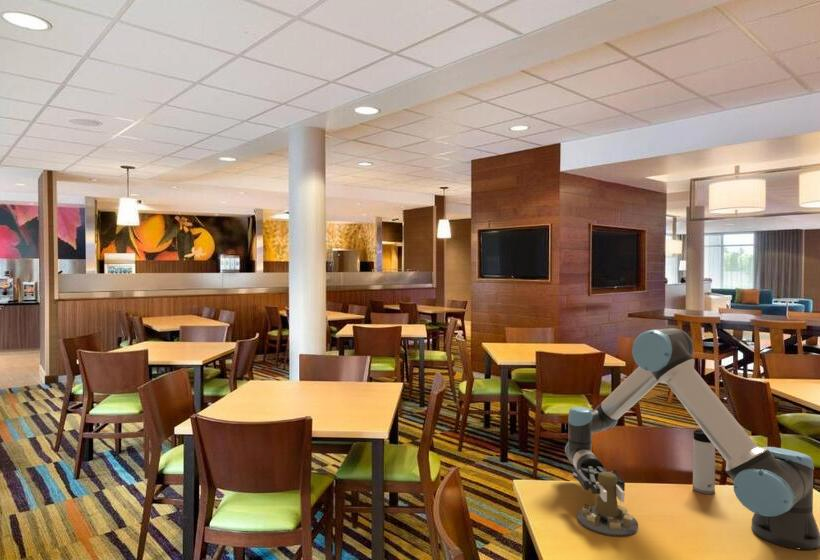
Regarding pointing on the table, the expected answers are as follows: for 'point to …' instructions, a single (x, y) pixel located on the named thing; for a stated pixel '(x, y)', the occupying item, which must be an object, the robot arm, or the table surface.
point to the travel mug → (703, 463)
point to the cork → (608, 495)
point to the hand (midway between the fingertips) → (614, 497)
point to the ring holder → (608, 522)
